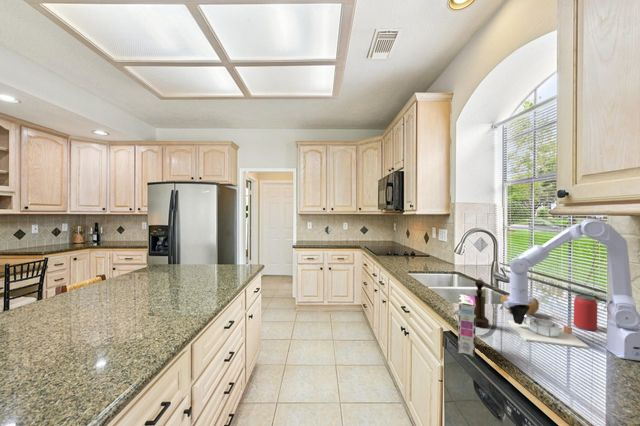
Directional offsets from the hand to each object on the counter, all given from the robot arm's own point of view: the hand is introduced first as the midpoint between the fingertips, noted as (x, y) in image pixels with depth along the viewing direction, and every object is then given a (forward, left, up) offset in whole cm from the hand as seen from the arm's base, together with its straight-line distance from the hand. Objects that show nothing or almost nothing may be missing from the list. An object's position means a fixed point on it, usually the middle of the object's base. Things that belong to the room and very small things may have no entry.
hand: (518, 323), depth 106 cm
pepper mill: (0, +14, -2) cm, 14 cm away
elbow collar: (0, -7, -1) cm, 7 cm away
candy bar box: (-22, +23, -2) cm, 32 cm away
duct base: (-2, -7, -2) cm, 8 cm away
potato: (+18, -6, -2) cm, 19 cm away
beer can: (+9, -25, -2) cm, 27 cm away
